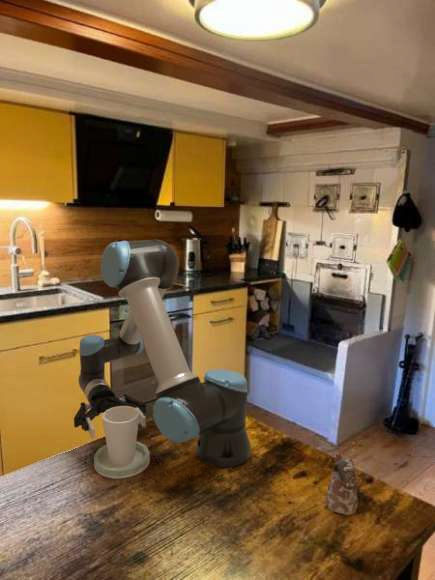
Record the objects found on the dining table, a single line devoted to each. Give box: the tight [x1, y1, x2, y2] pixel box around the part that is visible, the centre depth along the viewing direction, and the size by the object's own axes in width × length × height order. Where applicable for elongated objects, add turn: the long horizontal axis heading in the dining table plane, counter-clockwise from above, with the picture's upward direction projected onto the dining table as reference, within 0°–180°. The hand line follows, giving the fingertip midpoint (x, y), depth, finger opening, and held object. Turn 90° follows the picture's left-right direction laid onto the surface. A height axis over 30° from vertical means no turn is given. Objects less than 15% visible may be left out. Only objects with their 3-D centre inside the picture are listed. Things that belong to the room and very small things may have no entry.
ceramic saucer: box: [93, 440, 151, 480], centre depth 114 cm, size 14×14×2 cm
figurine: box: [325, 452, 359, 516], centre depth 100 cm, size 7×7×12 cm
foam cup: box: [102, 406, 140, 466], centre depth 113 cm, size 10×9×13 cm
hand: (119, 428), depth 114 cm, fingers open, 13 cm apart
